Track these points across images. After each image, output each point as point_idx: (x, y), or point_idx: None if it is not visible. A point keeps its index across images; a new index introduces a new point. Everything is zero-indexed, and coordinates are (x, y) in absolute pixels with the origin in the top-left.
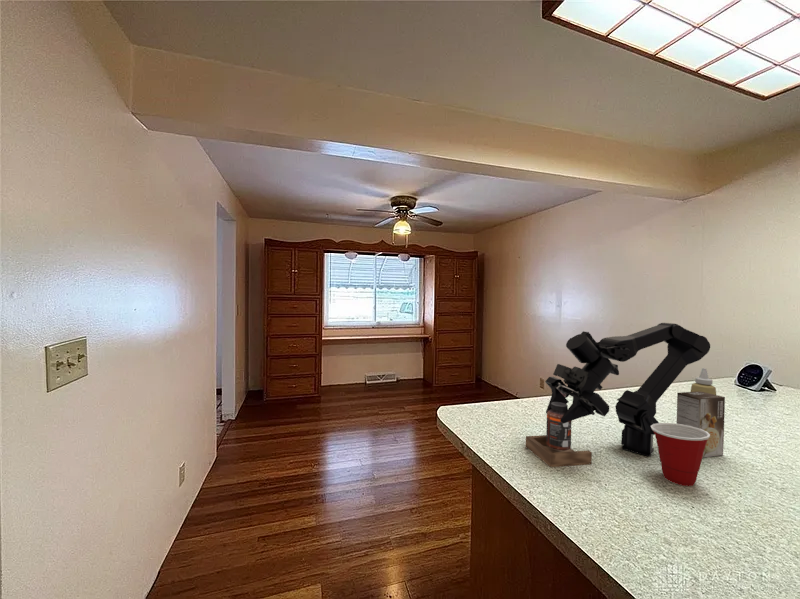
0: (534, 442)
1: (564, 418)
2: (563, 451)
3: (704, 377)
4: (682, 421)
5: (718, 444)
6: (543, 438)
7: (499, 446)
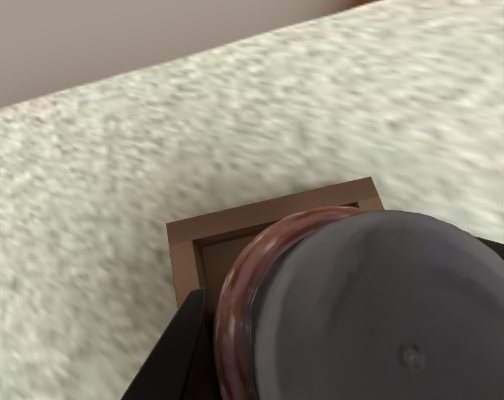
0: (298, 194)
1: (172, 324)
2: None
3: None
4: None
5: None
6: None
7: (337, 102)
